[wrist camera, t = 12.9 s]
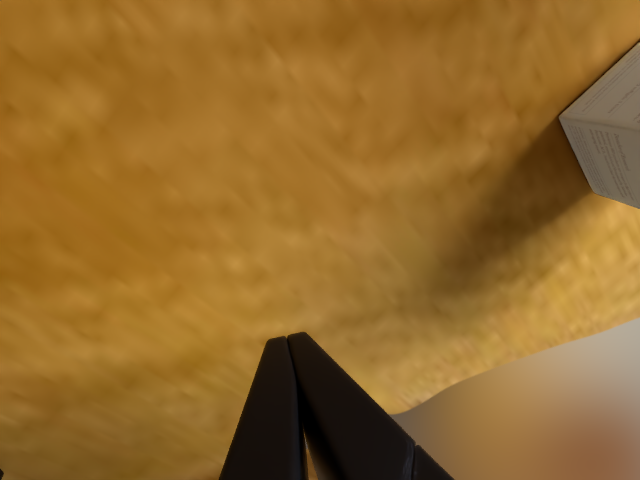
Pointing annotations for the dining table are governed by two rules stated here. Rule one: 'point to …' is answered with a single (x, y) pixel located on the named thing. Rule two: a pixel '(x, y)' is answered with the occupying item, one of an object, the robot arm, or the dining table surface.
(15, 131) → the dining table surface
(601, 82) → the white packaging box
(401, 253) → the dining table surface
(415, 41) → the dining table surface
